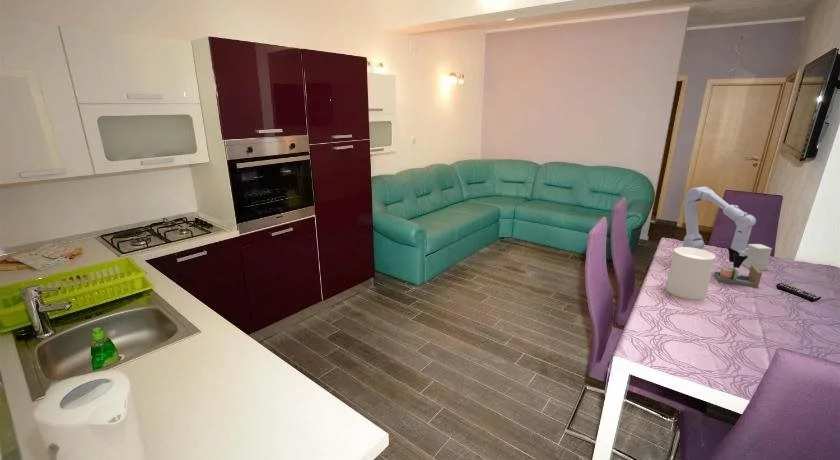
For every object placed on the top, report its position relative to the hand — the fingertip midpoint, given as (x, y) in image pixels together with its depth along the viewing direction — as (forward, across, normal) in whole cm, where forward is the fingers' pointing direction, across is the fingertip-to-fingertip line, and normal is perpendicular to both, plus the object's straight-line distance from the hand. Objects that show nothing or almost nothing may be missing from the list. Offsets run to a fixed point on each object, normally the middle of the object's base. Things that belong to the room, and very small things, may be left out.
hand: (733, 264), depth 192 cm
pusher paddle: (+8, 0, -2) cm, 9 cm away
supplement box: (+9, +25, -16) cm, 31 cm away
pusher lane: (+9, 0, -1) cm, 9 cm away
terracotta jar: (+9, 0, +2) cm, 9 cm away
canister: (+9, -24, +23) cm, 34 cm away
